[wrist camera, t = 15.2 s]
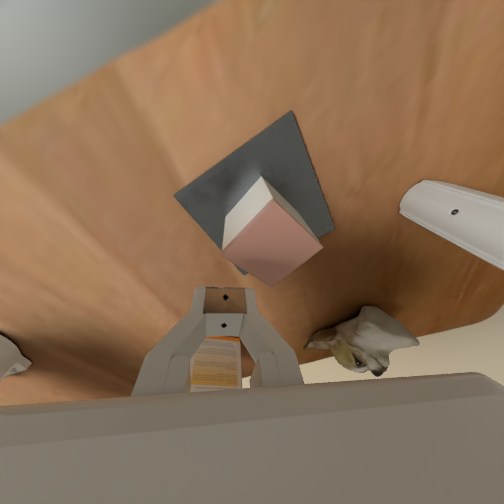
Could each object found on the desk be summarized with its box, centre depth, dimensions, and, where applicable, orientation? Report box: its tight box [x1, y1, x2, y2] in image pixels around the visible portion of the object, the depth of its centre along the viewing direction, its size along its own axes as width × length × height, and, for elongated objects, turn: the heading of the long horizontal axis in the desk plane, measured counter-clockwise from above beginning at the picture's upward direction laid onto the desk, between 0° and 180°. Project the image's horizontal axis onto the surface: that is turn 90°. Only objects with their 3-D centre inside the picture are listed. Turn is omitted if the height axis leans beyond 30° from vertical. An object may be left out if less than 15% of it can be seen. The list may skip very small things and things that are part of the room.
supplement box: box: [190, 336, 242, 392], centre depth 27 cm, size 8×5×13 cm, turn 70°
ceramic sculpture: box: [303, 306, 419, 377], centre depth 29 cm, size 11×9×15 cm
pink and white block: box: [221, 176, 324, 287], centre depth 15 cm, size 5×5×7 cm
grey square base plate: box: [173, 110, 335, 275], centre depth 16 cm, size 12×12×6 cm
